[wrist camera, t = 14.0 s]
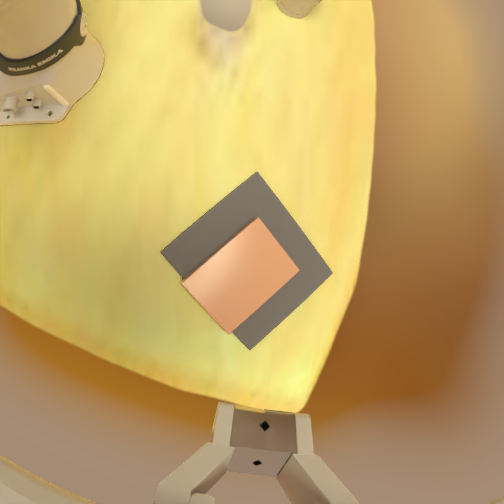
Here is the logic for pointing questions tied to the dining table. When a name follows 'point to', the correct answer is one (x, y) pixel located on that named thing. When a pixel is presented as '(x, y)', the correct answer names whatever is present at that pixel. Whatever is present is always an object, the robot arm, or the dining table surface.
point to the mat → (230, 223)
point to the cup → (296, 7)
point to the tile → (241, 275)
